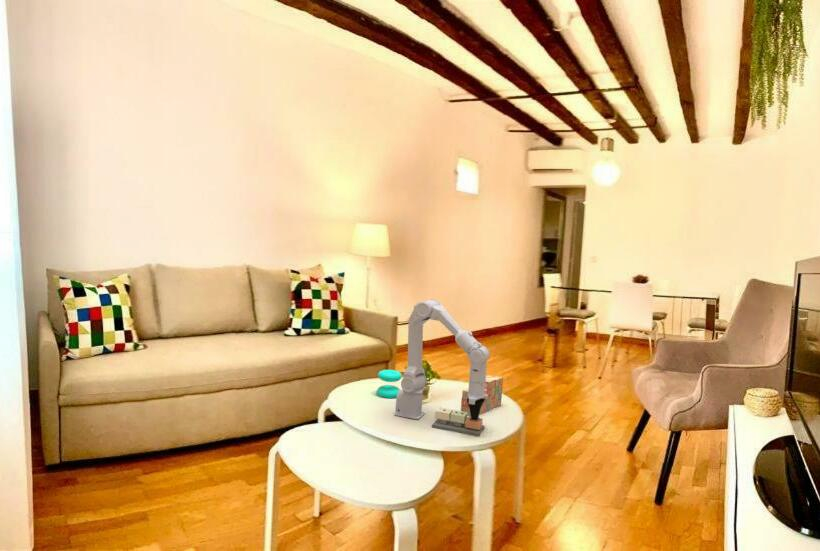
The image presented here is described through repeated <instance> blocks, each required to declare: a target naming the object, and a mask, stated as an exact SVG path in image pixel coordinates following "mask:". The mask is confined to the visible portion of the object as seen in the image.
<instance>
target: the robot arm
mask: <svg viewBox="0 0 820 551" xmlns="http://www.w3.org/2000/svg"><path fill="white" fill-rule="evenodd" d="M429 320H433V321H438V322H440V323H441V324H442V325H443V326H444V327H445V328H446V329H447V330H448V331H449V332H450V333H451V334H452V335H453V336H454V337H455V338H454V340H455V343H456V345H458V346H459V347H460V349H462V350H463V351H464V352H465V353H466V355H468V356H467V357H468V361H469V362H470V365H469V366H470V367H469V380H468V388H469V389H468V388H467V389H468V397H469V398H468V399H467V403H468V405H469V408H470V415H471V419H473V420H477V419H478V418H480V415H479V413H480V409H481V407H482V404H483V402H484V401H485V399H484V397H485V398H487V397H488V394H485V383H486V375H487V366H488V360H489V359H490V357H491V353H490V351H489V349H488V347H487V346H486V345H482V343H481V342H479V341H478V340H477V339H476V338H475V337H474V336H473V333H472V332H471V331H468V330H466V329H465V330H464V329H462V328H461V327H460V326H459V324H458V323H457V322H456V321H455V319H453V317H452V316H451V314H450V313H449V312H448V311H447V310H446V308H445V306H444V305H443V304H441V303H440V301H439V300H437V299H430V300H420V301H419V302H417V303H416V304H415V305H413V310H412V311H411V314H410V315H409V317H408V325H407V326H408V327H407V328H408V330H407V331H408V332H407V333H408V334H407V336H408V337H407V367H406V369H404V371H403V375H402V376H403V377H402V378H401V381H400V385H401V386H400V387H401V389H400V390H399V391H398V394H397V397H395V398H396V400H395V401H396V402H395V413H394V416H395V417H396V416H397V417H403V418H408V419H414V420H420V419H421V418H423V416H424V415H425V413H426V412H424V411H422V410H423V399H424V398H423V397H424V395H423V394H424V387H426V385H427V377H426V371H425V368H424V367H423V338H424V336H423V333H424V324H426V322H428V321H429Z"/></svg>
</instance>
